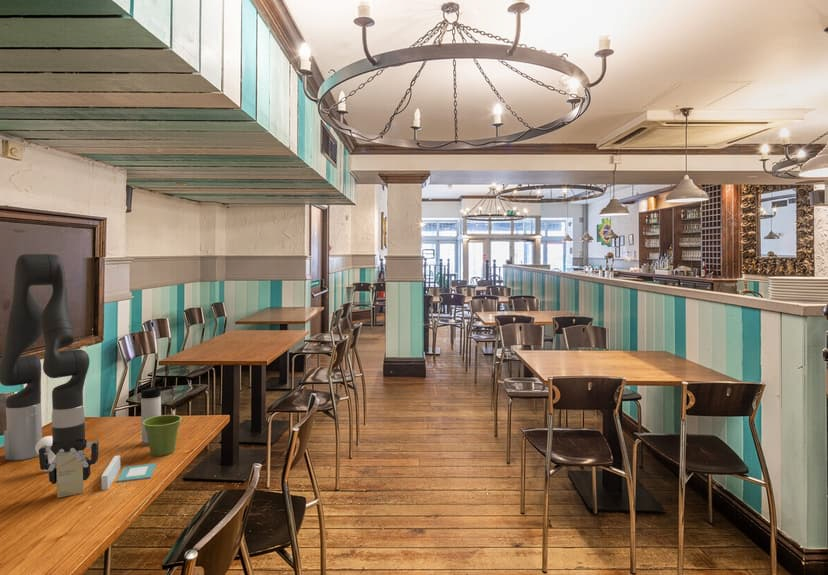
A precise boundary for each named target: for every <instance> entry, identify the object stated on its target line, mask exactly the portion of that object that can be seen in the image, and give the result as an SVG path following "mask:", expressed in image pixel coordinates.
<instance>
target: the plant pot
mask: <svg viewBox="0 0 828 575" xmlns="http://www.w3.org/2000/svg"><path fill="white" fill-rule="evenodd" d="M182 418H183V417H182V416H180V415H177V414H163V415H162V414H161V416H155V417H151V418H148V419H146V420H144V421H143V425H144V426H145V430H146V432H147V437H148V442H149V445H148V446H149V447H148V448H149V451H150V455H151V456H153V457H154V456H155V457H162V456H165V455H171V454H173V453H174V452H175V450H176V444H177V439H178V438H177V437H178V430H179V427H180V424H181V423H180V422H181V420H182Z"/></svg>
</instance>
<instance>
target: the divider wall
mask: <svg viewBox="0 0 828 575" xmlns="http://www.w3.org/2000/svg"><path fill="white" fill-rule="evenodd" d="M120 469H121V455H114V456H113V458H112V459H111V461H110V462H109V463H108V465H107V467H106V468H105V469H104V472H103V473H102V475H101V476H100V478H101V491H107V490H109V488H110V487H111V484H113V482H114V480H115V478H116V476H117V475H118V473H119V472H120Z"/></svg>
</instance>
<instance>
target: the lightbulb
mask: <svg viewBox="0 0 828 575" xmlns="http://www.w3.org/2000/svg"><path fill="white" fill-rule="evenodd" d="M52 443H53V441H52V435H47V436H44V437H43V436H42V438H41V439H40V440H39V441H38V442H37V444H36V447H35V450H36V452H37V454H38V456H39V449H40V448H41V447H42V446H52ZM55 457H56V455H55V454H54V453H53V452H52V451H51V450H50V452H49V453H48V463H49V464H51V463H52V462H53V460H54V458H55ZM43 471H44V472H46V473H49V471H48V470H43Z"/></svg>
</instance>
